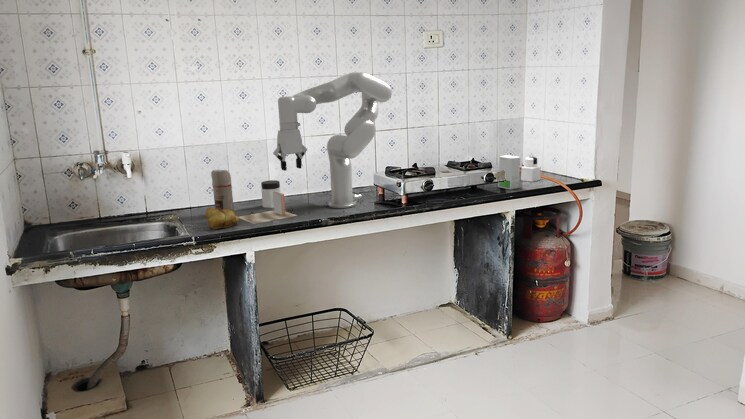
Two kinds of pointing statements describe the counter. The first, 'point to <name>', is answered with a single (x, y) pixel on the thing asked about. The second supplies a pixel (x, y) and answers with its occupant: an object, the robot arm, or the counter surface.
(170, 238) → the counter surface
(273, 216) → the packaged sliced meat
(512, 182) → the skincare box
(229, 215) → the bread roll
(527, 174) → the medicine bottle
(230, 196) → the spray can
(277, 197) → the tile
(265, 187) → the jar
